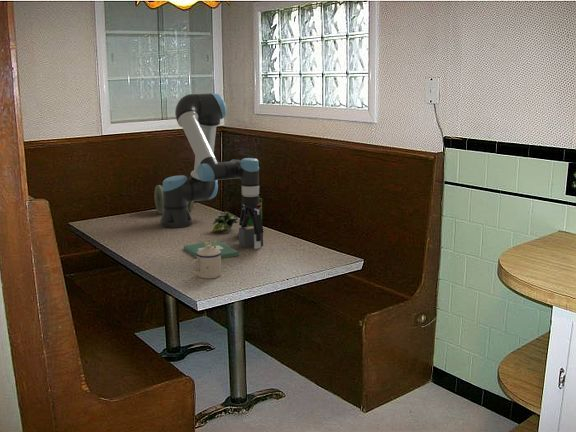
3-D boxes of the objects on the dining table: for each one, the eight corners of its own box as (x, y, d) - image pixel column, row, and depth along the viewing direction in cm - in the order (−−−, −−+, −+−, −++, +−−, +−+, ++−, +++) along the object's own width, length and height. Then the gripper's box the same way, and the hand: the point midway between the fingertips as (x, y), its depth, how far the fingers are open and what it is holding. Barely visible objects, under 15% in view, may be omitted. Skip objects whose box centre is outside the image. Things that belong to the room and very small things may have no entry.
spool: (164, 216, 329) (162, 188, 326) (155, 211, 342) (153, 183, 338) (194, 213, 337) (193, 185, 333) (184, 207, 350) (183, 180, 346)
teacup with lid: (214, 269, 245) (213, 240, 242) (226, 276, 237) (225, 245, 235) (185, 275, 238) (184, 245, 235) (197, 282, 231) (196, 251, 228)
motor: (259, 236, 291) (258, 193, 286) (240, 235, 293) (239, 192, 288) (264, 231, 301) (263, 189, 296) (245, 230, 302) (245, 188, 298)
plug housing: (239, 245, 276) (238, 227, 275) (257, 242, 281) (257, 224, 279) (244, 248, 272) (244, 229, 270) (263, 245, 277) (262, 227, 275)
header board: (183, 249, 272) (183, 239, 270) (218, 243, 279) (217, 233, 278) (202, 261, 255) (202, 250, 254) (238, 255, 263) (238, 244, 262)
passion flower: (225, 240, 305) (237, 218, 307) (233, 242, 295) (245, 219, 297) (205, 229, 300) (218, 206, 303) (212, 230, 291) (225, 207, 293)
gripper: (271, 198, 264) (272, 250, 269) (245, 189, 283) (246, 238, 288) (255, 200, 260) (256, 253, 265) (230, 191, 279) (231, 240, 284)
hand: (251, 245), depth 277 cm, fingers open, 10 cm apart
